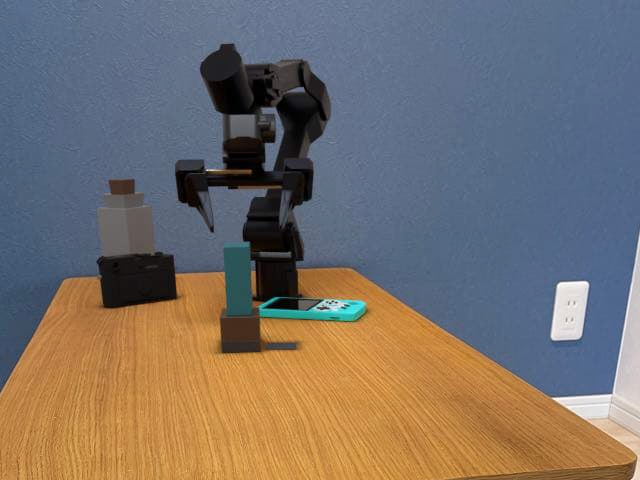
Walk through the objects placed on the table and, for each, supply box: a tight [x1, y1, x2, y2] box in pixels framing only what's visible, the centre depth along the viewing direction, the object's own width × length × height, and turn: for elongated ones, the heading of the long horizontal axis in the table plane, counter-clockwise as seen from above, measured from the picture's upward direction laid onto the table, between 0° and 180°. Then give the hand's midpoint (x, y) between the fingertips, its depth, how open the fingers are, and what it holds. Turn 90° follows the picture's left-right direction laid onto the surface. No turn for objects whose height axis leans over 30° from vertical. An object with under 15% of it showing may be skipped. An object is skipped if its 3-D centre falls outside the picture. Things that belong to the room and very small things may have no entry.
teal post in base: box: [219, 241, 262, 354], centre depth 111 cm, size 6×5×13 cm
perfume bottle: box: [96, 178, 156, 257], centre depth 153 cm, size 7×7×18 cm
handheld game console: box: [256, 297, 367, 322], centre depth 132 cm, size 10×16×1 cm, turn 72°
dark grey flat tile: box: [265, 341, 298, 351], centre depth 113 cm, size 4×4×1 cm
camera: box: [95, 251, 178, 309], centre depth 142 cm, size 14×7×8 cm, turn 124°
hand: (246, 229), depth 114 cm, fingers open, 9 cm apart
